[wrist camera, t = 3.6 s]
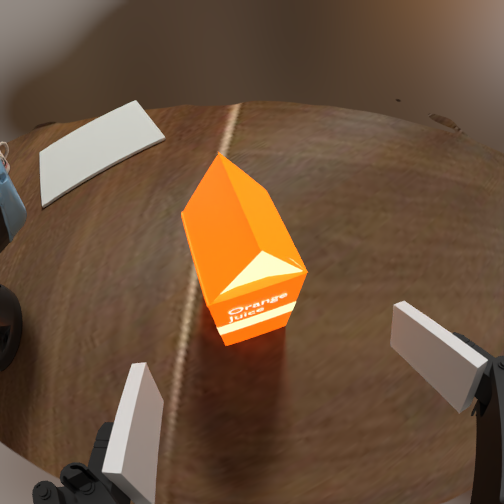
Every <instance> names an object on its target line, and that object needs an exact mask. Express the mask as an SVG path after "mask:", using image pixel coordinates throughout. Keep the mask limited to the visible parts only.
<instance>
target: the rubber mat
mask: <svg viewBox="0 0 504 504" xmlns="http://www.w3.org/2000/svg"><path fill="white" fill-rule="evenodd" d="M164 140H166V139H165V136H164V135H163V134H162V133H161V131H160V130H159V129H158V128H157V126H156V125H155V124H154V123H153V121H152V120H151V119H150V117H149V116H148V115H147V114H146V112H145V111H144V110H143V109H142V107H141V106H140V105H139V104H138V102H137V101H136V100H135V101H133V102H131V103H129V104H126V105H124V106H122V107H120V108H117V109H115V110H113V111H111V112H109V113H107V114H105V115H103V116H101V117H99V118H97V119H95V120H93V121H91V122H90V123H88V124H86V125H84V126H82V127H80V128H79V129H77V130H75V131H73V132H72V133H70V134H68V135H67V136H65V137H63V138H62V139H60V140H58V141H57V142H55V143H53V144H52V145H50V146H49V147H47V148H46V149H44V150H43V151H41V152H40V184H41V199H42V207H43V208H44V207H46V206H47V205H49V204H50V203H52V202H53V201H55V200H56V199H58V198H59V197H61V196H62V195H64V194H65V193H67V192H69V191H70V190H72V189H73V188H75V187H77V186H78V185H80V184H82V183H83V182H85V181H87V180H88V179H90V178H92V177H93V176H95V175H97V174H99V173H100V172H102V171H104V170H106V169H108V168H109V167H111V166H113V165H115V164H117V163H119V162H121V161H123V160H124V159H126V158H128V157H130V156H132V155H134V154H136V153H138V152H140V151H142V150H144V149H146V148H148V147H151V146H153V145H155V144H157V143H159V142H161V141H164Z"/></svg>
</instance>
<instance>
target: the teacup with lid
mask: <svg viewBox="0 0 504 504" xmlns="http://www.w3.org/2000/svg"><path fill="white" fill-rule="evenodd" d="M2 144H3V145H4V146H5V150H6V152H5V155H4V156H3V155H2V153H1V152H0V159H1V161H2V163H3V165H4V167H5V169H6V171H7V173H9V170H10V165H9V164H8V162H7V161H6V157H7V156H8V152H9V149H8V145H7V144H6V143H5V142H1V143H0V146H1V145H2Z"/></svg>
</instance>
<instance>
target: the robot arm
mask: <svg viewBox="0 0 504 504" xmlns="http://www.w3.org/2000/svg"><path fill="white" fill-rule="evenodd" d="M26 217H27V213H26V209H25V207H24V205H23V203H22V201H21V199H20V197H19V195H18V193H17V191H16V189H15V187H14V185H13V183H12V181H11V179H10V177H9V175H8V173H7V171H6V169H5V167H4V165H3V163H2V161H1V159H0V253H1V252H2V251H3V250H4V248H5V247H6V246H7V245H8V244H9V243H11V242H12V240H13V237H14V236H15V235H16V234H17V232H18V231H19V230H20V229H21V228H22V226H23V225H24V223H25V221H26ZM21 331H22V313H21V307H20V304H19V301H18V299H17V297H16V295H15V294H14V293H13V292H12V291H11V290H9V289H8V288H6V287H5V286H3V285H1V284H0V371H2V370H4V369H5V368H6V367H7V366H8V365H9V364H10V363H11V361H12V360H13V358H14V356H15V354H16V352H17V349H18V346H19V342H20V338H21ZM390 346H391V347H392V348H393V349H394V350H395V351H397V352H398V353H399V354H400V355H401V356H402V357H403V358H404V359H405V360H406V361H407V362H408V363H409V364H410V365H411V366H412V367H413V368H414V369H415V370H416V371H417V372H418V373H419V374H420V375H421V376H422V377H423V378H424V379H426V380H427V381H428V382H429V383H430V384H431V385H432V386H433V387H434V388H435V389H436V390H437V391H438V392H439V393H440V394H441V395H442V396H443V397H444V398H445V399H446V400H447V401H448V402H449V403H450V404H451V405H452V406H453V407H454V408H455V409H456V410H457V411H458V412H459V413H460V412H462V411H463V410H465V409H466V408H467V407H469V406H470V405H471V403H472V400H473V398H474V396H475V397H476V398H477V399H478V400H477V402H476V405H475V407H474V409H473V411H472V413H471V416H473V415H474V413H475V411H476V418H477V439H476V461H475V473H474V482H473V490H472V496H471V503H470V504H504V356H499V357H497V358H495V357H493V356H492V355H490V354H489V353H488V352H486V351H485V350H483V349H482V348H481V347H479V346H478V345H475V343H474V342H472V341H470V340H469V339H468V338H466V337H465V336H464V335H461V334H458V333H455V332H454V333H450V332H449V331H447V330H446V329H445V328H443V327H442V326H440V325H439V324H437V323H436V322H434V321H433V320H432V319H430V318H429V317H427V316H426V315H424V314H423V313H421V312H420V311H418V310H417V309H416V308H414V307H413V306H411V305H410V304H408V303H407V302H405V301H402V302H399V303H397V304H394V305H393V319H392V331H391V341H390ZM163 403H164V401H163V399H162V397H161V395H160V393H159V391H158V388H157V386H156V384H155V382H154V380H153V377H152V375H151V373H150V371H149V368H148V366H147V364H146V362H145V363H136V364H132V366H131V369H130V372H129V375H128V378H127V381H126V384H125V387H124V391H123V394H122V397H121V401H120V404H119V407H118V411H117V414H116V418H115V421H114V422H105V423H104V424H103V425H102V426H101V428H100V429H99V430H98V433H97V436H96V441H95V443H94V446H93V447H94V448H93V450H92V453H91V457H90V460H89V464H88V468H87V467H86V466H85V465H84V464H82V463H71V464H68V465H67V466H65V467H64V468H63V470H62V471H61V474H60V480H61V483H62V484H63V485H64V487H56V486H55V485H54V484H53V483H52V482H49V481H41V482H39V483H38V484H37V485H35V487H34V489H33V494H32V495H33V503H34V504H130V499H131V500H132V501H133V502H134V503H135V504H155V486H156V472H157V459H158V448H159V438H160V428H161V419H162V411H163Z"/></svg>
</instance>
